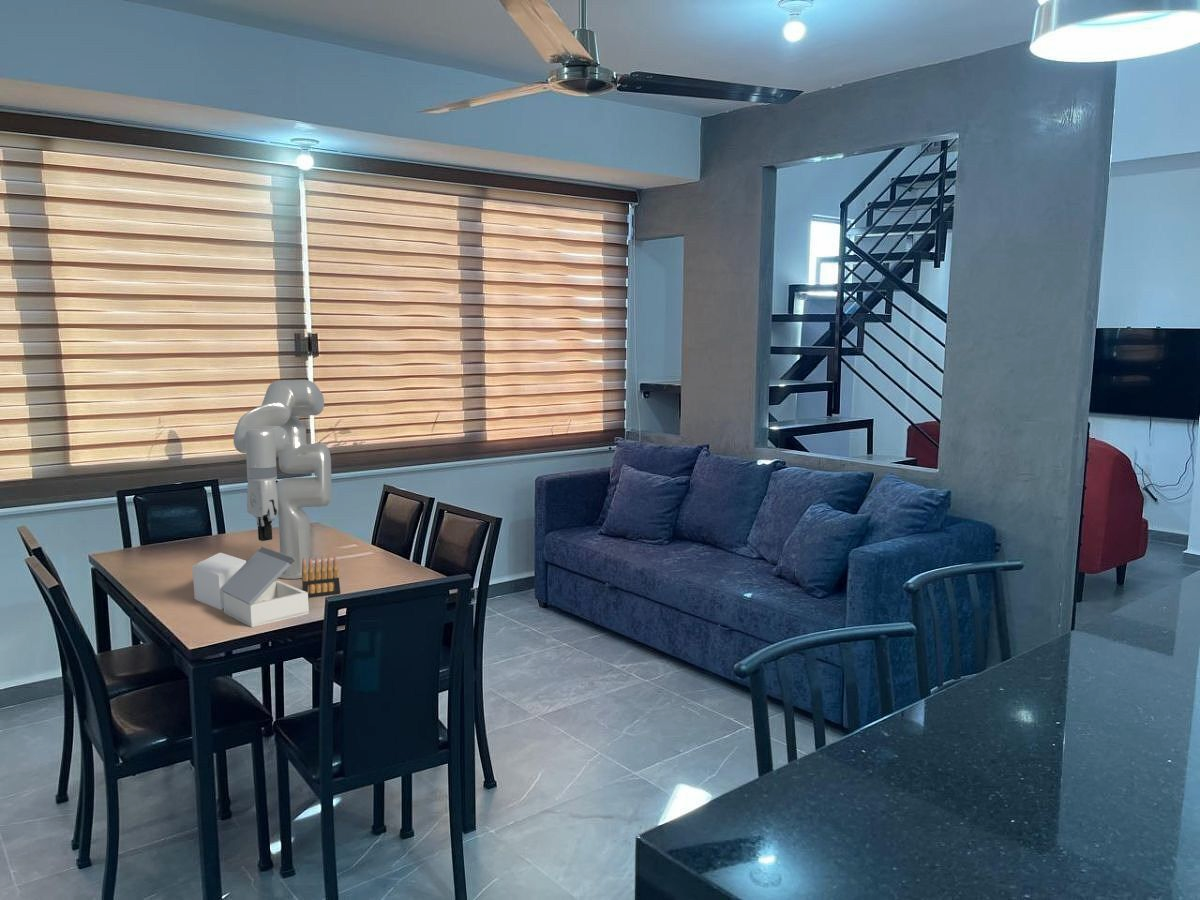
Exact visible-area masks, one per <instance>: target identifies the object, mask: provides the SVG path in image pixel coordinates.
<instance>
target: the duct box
mask: <svg viewBox="0 0 1200 900" xmlns="http://www.w3.org/2000/svg"><path fill="white" fill-rule="evenodd" d="M223 601H224V608H223V614H226V615H227V616H229V617H231V618H233V619H235V620H237V621H239V622H241V623H242V624H245V625H247V626H248V627H251V628H254V627H259V626H262V625H268V624H271V623H276V622H279V621H284V620H288V619H292V618H296V617H301V616H305V615H309V614H310V610H309V608H310V607H309V598H308V592H305V591H303V590H302V589H300V588H298V587H296V586H293V585H291V584H289V583H286V582H283V581H281V580H275V581H274V582H273V583H272V584H271V585H270V586H269V587H268V589H267V590H266V591H265V592H264V593H263V594H262V595H261V596H260V597H259V598H258V599H257V600H256V601H255V602H254V603H253V604H252V605H250V604H248V603H246V602H243V601H241V600H239V599H237V598H235V597H233V596H231V595H229V594H227V593H225V592H223Z"/></svg>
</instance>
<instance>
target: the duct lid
mask: <svg viewBox="0 0 1200 900" xmlns="http://www.w3.org/2000/svg"><path fill="white" fill-rule="evenodd" d="M294 561H295V559H294V558H293V557H290V556H287V555H285V554H282V553H280V551H279V552H278V551H277V550H273V549H271V548H268V547H266V546H261V547H260V548H259V549H258V550H257V551H256V552H255V553H254V554H253V555H252V556H251V557H250V558H249V559H248V560H247V561H246V563H245V564H244V565H243V566H242V567H241V568H240V569H239V570H238V571H237V572H236V573H235V574H234V575H233V576H232V577H231V578H230V579H229V580H228V581H227V582H226V583H225V584H224V585H223V586H222V587H221V588H220V590H221V591H223V592H225V593H227V594H229V595H231V596H233V597H235V598H237V599H239V600H241V601H243V602H246V603H248V604H250V605H252V604H253V603H254V602H255V601H256V600H257V599H258V598H259V597H260V596H261V595H262V594H263V593H264V592H265V591H266V590H267V589H268V587H269V586H270V585H271V584H272V583H273V582H274V581H277V579H278V578H279V576H280V575H281V574H282V573H283V572H284V571H285V570H286V569H287V568H288V567H289V566H290V565H291V564H292V563H293V562H294Z"/></svg>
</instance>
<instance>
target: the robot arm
mask: <svg viewBox="0 0 1200 900" xmlns="http://www.w3.org/2000/svg"><path fill="white" fill-rule="evenodd" d="M324 408H325V399H324V394H323V393H322V391H321V389H320V388H319V387H318V385H316V383H315V382H313V381H311V380H308V379H279V380H275V381H273V382H271V383H269V385H268V387H267V389H266V391H265V395H264V398H263V400H262V403H261V405H259V406H257V407H255V408H253V409H252V410H249V411H247V412H246V413H244V414H243V415H242V416H241V417H240V418H239V419H238V421H237V423H236V428H235V430H234V434H233V445H234V448H235V450H236V451H237V452H239V453H242V454H245V455H246V456H245V458H246V477H247V479H246V480H247V487H246V489H247V490H246V505H247V506H246V508H247V509H246V510H247V511H246V512H247V513H248V514H249V515H252V516H254V518H256V526H257V537H258V541H261V542H264V541H265V542H266V541H271V540H273V522H274V521H276V515H277V518H278V519H277V520H278V534H279V553H282V554H285V555H287V556H290V557H293V558H294V559H295V561H294V562H293V563H292V564H291V565H290V566H289V567H288V568H287V569H286V570H285V571H284V572H283V573H282V574H281V575H280V576H279V577H278V578H279V579H285V580H295V579H302V562H303V558H305V560H306V565H307V571H308V570H309V558H310V557H311V558H312V557H313V556H312V555H313V554H312V539H311V536H312V535H311V520H310V518H309V516H308V514H307V513H306V512H305V511H304V510H303V508H311V507H312V508H317V507H325V506H326V507H327V506H328V505H329V504H330V503H331V501H332V493H333V492H332V490H333V489H332V488H333V487H332V459H331V456H332V455H331V452H330V449H329V448H328V446H327V445H325V444H323V443H307V428H306V427H305V425H304V424H303V422H302V421H301V420H300V419H299V417H297V416H300V417H301V416H317V415H321V413H322V412H323V410H324ZM277 453H278V466H279V467H278V468H279V470H280V471H281V472H283V473H285V474H295V475H296V474H314V475H316V476H315V477H313V476H312V477H304V476H303V477H286V478H281V479H279V480H278V481H276V480H277V479H278V475H277V473H278V472H277V455H276V454H277ZM312 559H313V558H312ZM313 569H314V576H315V566H313Z"/></svg>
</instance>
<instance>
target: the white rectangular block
mask: <svg viewBox="0 0 1200 900" xmlns="http://www.w3.org/2000/svg"><path fill="white" fill-rule="evenodd" d="M246 562H247V561H246V560H245V559H242V558H239V557H236V556H233V555H229V554H226V553H223V552H218V553H216V554H214V555H212V556H210V557H208V558H205V559H204V560H201V561H199V562H197V563H196V564H194V565H192V578H193V591H194V593H193V595H194V600H195V599H196V601H199V602H200V603H203V604H205V605H208V606H210V607H213V608H215V609H217V610H220V611H222V610H224V601H223V591H221V590H220V588H221V587H222V586H223V585H224V584H225V583H226V582H227V581H228V580H229V579H230V578H231V577H232V576H233V575H234V574H235V573H236V572H237V571H238V570H239V569H240V568H241V567H242V566H243V565H244V564H245V563H246Z"/></svg>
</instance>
